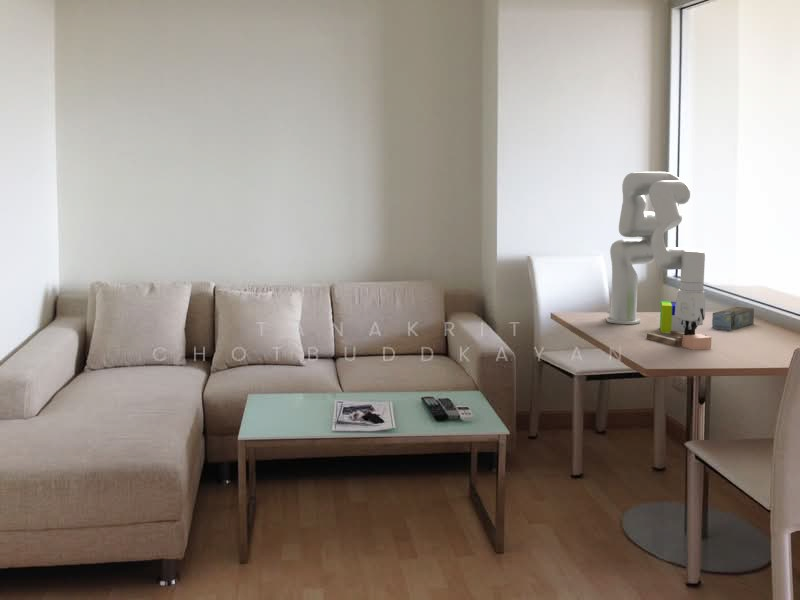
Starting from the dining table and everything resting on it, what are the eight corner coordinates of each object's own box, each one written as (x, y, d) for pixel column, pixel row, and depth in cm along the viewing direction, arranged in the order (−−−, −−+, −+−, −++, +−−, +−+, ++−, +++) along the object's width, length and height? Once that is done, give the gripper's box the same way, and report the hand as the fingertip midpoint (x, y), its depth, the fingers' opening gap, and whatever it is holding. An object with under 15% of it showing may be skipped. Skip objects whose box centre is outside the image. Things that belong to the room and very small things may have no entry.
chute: (646, 338, 336) (646, 329, 336) (673, 335, 341) (673, 327, 341) (678, 346, 322) (678, 337, 321) (706, 343, 327) (706, 334, 327)
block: (682, 347, 323) (682, 335, 322) (699, 345, 325) (700, 334, 324) (693, 350, 317) (693, 338, 316) (710, 349, 319) (711, 337, 319)
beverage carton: (710, 328, 357) (711, 310, 356) (734, 322, 370) (735, 305, 369) (730, 331, 351) (731, 313, 350) (754, 324, 365) (755, 307, 364)
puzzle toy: (690, 334, 345) (691, 306, 343) (661, 332, 347) (662, 305, 345) (687, 329, 354) (689, 302, 353) (659, 328, 356) (660, 301, 355)
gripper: (667, 284, 328) (665, 337, 331) (699, 290, 315) (696, 345, 317) (684, 283, 331) (682, 335, 334) (716, 288, 318) (713, 343, 321)
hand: (689, 340), depth 326 cm, fingers closed
